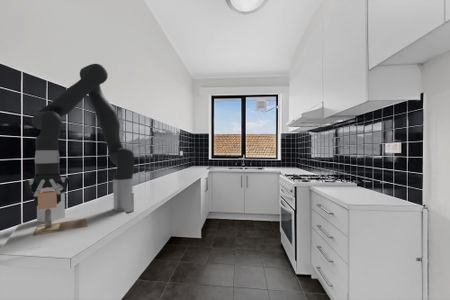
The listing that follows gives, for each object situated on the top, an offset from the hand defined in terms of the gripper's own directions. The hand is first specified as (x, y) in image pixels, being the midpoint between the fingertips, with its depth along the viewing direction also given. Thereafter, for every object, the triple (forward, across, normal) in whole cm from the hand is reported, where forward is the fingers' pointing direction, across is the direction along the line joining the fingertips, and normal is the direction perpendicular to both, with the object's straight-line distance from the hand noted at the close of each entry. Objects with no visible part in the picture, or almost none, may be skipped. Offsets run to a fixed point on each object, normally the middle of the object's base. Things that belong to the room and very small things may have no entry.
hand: (48, 204), depth 88 cm
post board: (+11, -4, 0) cm, 12 cm away
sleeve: (+1, 0, 0) cm, 1 cm away
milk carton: (+11, 0, -15) cm, 19 cm away
